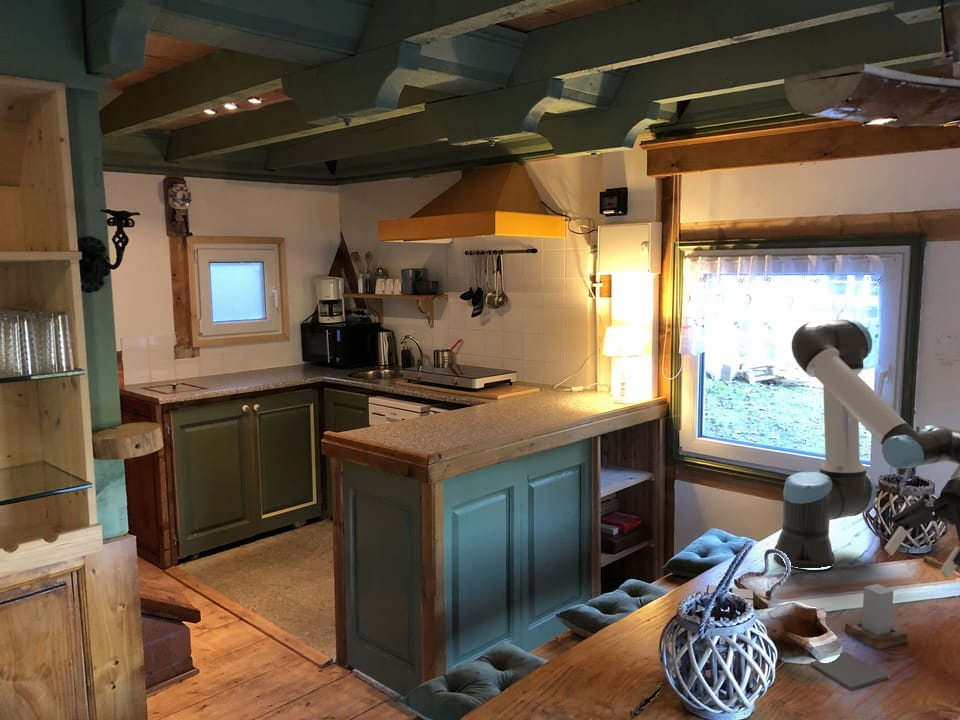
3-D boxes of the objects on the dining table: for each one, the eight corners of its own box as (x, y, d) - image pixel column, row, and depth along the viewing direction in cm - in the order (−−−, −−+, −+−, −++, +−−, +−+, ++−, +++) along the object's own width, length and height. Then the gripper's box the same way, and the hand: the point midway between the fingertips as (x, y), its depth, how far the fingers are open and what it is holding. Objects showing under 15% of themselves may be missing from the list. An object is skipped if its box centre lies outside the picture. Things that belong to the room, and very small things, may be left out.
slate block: (861, 634, 171) (864, 586, 169) (874, 630, 172) (877, 583, 171) (876, 642, 167) (880, 594, 165) (890, 639, 169) (893, 591, 167)
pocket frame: (844, 631, 172) (845, 623, 172) (872, 624, 175) (873, 615, 175) (878, 649, 164) (878, 640, 164) (907, 641, 167) (907, 632, 167)
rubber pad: (810, 664, 158) (810, 662, 158) (846, 654, 162) (846, 651, 162) (850, 690, 149) (850, 687, 149) (887, 678, 153) (888, 675, 153)
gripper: (1030, 514, 165) (977, 594, 162) (923, 483, 188) (874, 552, 184) (1016, 494, 162) (962, 574, 159) (909, 464, 185) (859, 534, 181)
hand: (914, 563), depth 171 cm, fingers open, 13 cm apart
